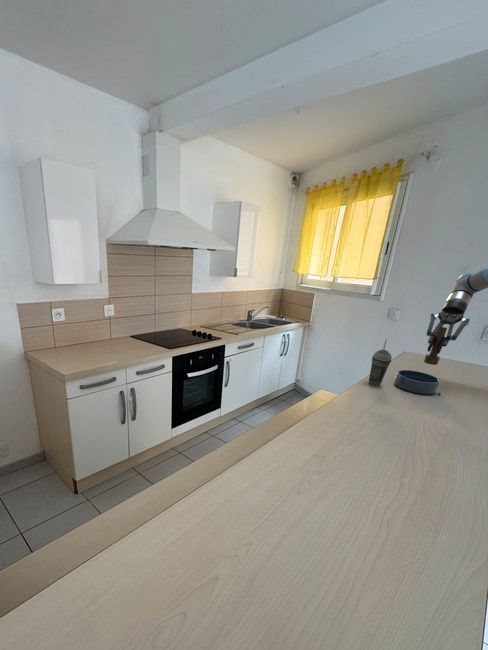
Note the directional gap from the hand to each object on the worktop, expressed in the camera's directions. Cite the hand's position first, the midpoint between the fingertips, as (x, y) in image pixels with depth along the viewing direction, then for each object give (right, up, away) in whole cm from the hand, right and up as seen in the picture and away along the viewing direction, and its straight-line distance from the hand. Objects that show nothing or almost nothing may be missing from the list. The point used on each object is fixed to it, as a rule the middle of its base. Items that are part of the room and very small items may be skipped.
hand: (433, 350), depth 130 cm
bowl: (-2, -15, +9) cm, 18 cm away
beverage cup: (-18, -14, +11) cm, 25 cm away
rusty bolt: (+2, -5, +5) cm, 7 cm away
